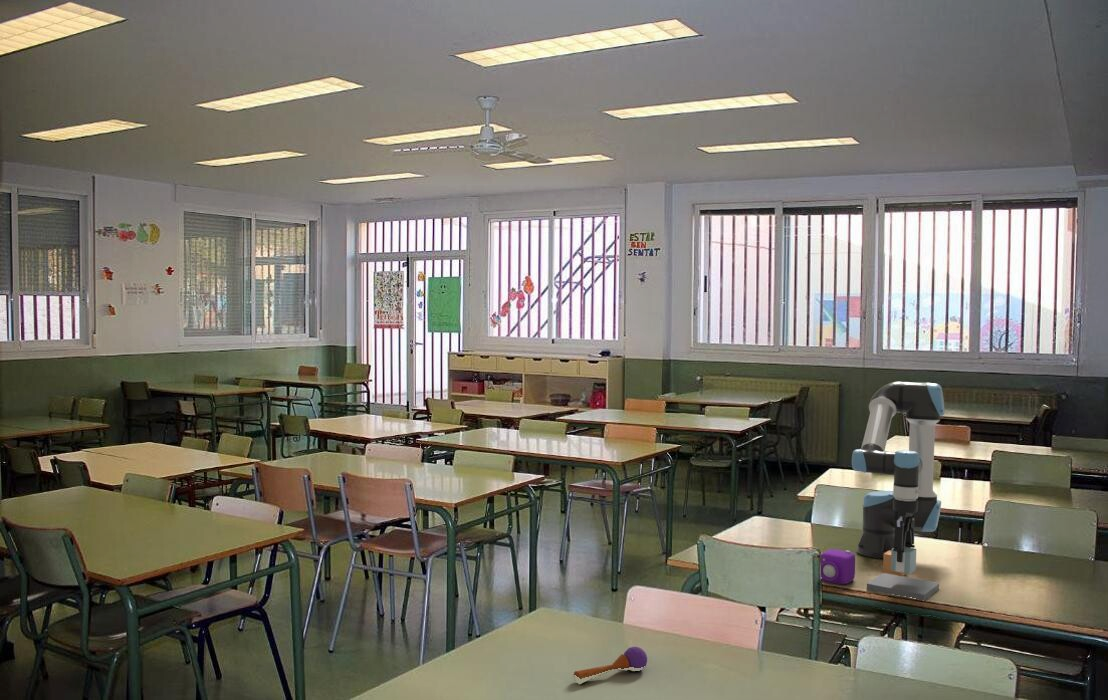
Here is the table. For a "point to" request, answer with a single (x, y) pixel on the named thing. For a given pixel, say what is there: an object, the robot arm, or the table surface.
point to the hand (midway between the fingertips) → (903, 569)
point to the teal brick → (909, 560)
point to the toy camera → (838, 566)
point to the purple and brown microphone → (619, 663)
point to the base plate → (903, 586)
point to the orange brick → (889, 564)
